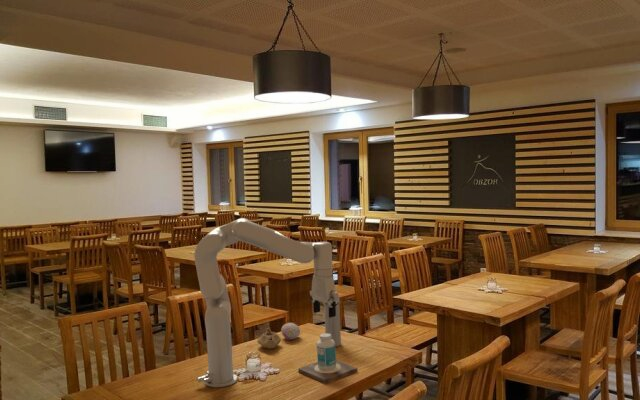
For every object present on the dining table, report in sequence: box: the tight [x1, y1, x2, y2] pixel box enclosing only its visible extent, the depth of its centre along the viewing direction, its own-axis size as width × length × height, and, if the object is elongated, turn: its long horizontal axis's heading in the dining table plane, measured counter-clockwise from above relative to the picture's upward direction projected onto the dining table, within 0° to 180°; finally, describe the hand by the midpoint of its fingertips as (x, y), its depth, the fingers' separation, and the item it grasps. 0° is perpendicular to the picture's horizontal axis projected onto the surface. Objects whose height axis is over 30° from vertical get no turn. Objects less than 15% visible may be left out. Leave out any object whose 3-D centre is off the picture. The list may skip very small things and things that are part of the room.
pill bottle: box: [316, 333, 337, 370], centre depth 210 cm, size 8×7×14 cm
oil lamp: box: [257, 327, 282, 350], centre depth 244 cm, size 11×15×8 cm
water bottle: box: [322, 290, 342, 348], centre depth 242 cm, size 9×8×25 cm
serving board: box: [298, 359, 358, 384], centre depth 210 cm, size 17×17×2 cm
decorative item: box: [280, 322, 301, 340], centre depth 257 cm, size 9×11×10 cm
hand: (324, 314), depth 209 cm, fingers open, 9 cm apart
